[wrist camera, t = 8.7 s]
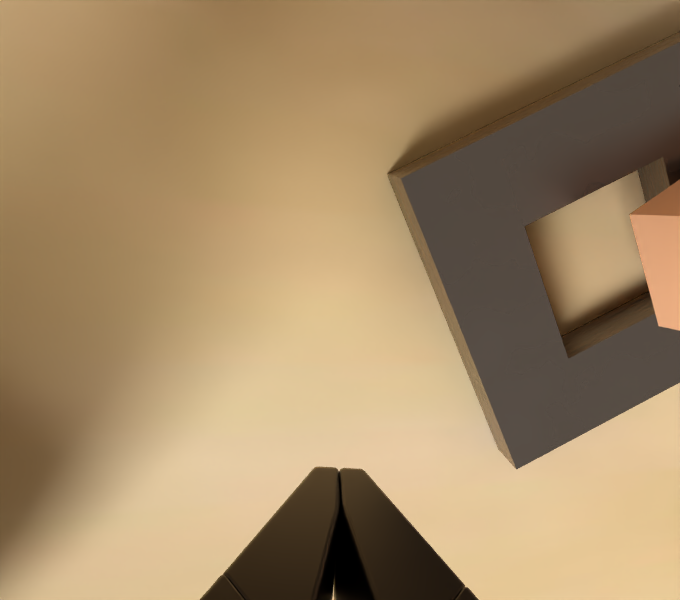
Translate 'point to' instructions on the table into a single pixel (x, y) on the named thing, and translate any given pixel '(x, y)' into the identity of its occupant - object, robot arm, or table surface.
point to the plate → (518, 259)
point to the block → (661, 252)
